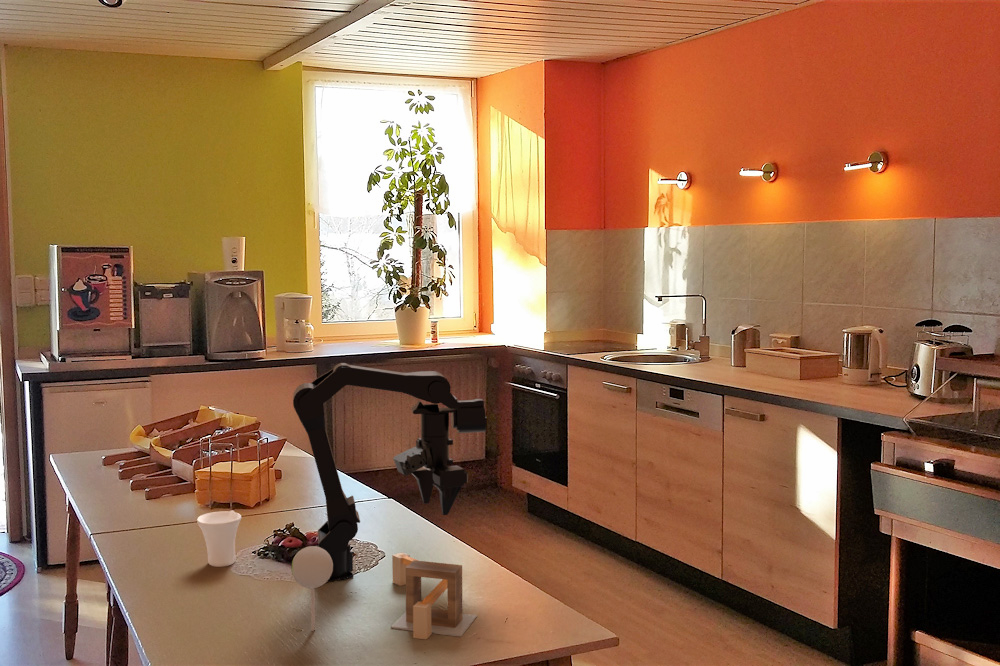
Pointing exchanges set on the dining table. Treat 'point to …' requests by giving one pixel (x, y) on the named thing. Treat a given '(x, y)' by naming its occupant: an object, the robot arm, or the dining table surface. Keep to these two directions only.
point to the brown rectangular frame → (453, 591)
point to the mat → (457, 631)
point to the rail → (420, 608)
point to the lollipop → (312, 571)
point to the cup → (220, 536)
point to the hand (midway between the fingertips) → (435, 509)
